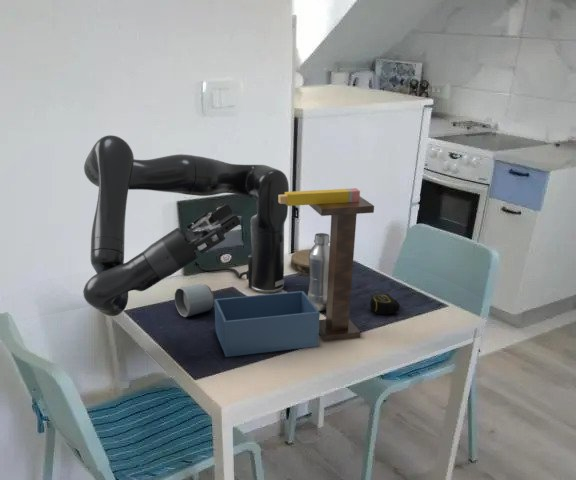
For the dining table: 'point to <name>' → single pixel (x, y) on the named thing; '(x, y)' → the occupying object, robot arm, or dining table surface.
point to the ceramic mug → (194, 299)
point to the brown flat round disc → (301, 262)
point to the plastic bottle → (319, 271)
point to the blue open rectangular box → (266, 323)
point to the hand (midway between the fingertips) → (234, 212)
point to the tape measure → (384, 304)
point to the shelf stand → (340, 267)
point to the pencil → (319, 197)
